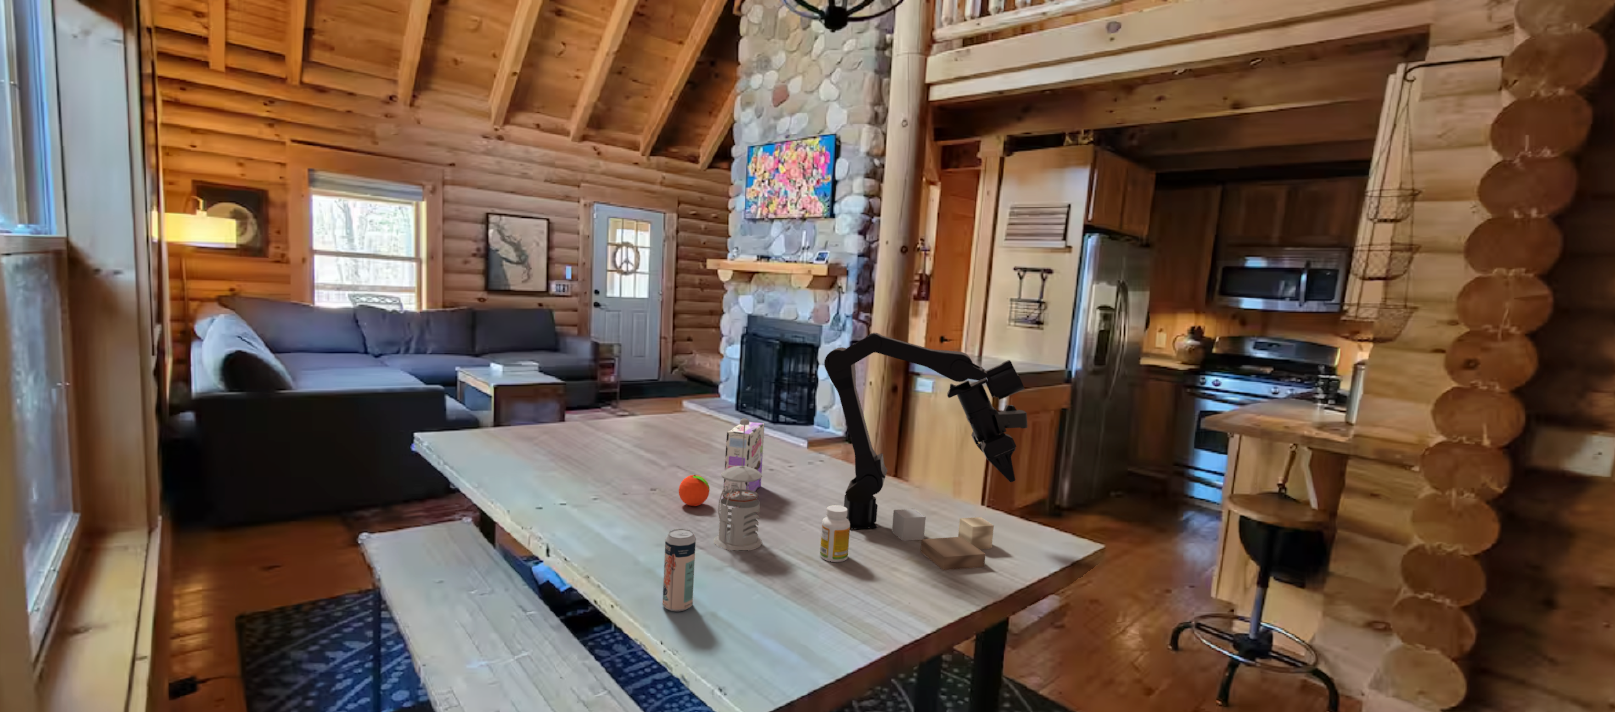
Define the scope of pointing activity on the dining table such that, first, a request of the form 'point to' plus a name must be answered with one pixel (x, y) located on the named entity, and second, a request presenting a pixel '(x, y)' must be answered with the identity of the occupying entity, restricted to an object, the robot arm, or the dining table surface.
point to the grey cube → (908, 524)
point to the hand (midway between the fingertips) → (1008, 476)
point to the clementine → (694, 490)
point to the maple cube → (976, 532)
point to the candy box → (745, 452)
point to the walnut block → (952, 553)
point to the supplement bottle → (835, 534)
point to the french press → (739, 509)
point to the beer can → (679, 570)
